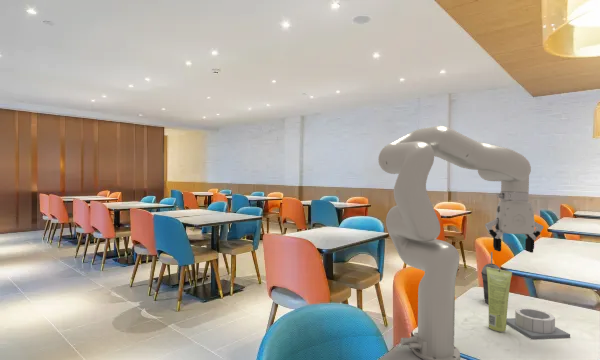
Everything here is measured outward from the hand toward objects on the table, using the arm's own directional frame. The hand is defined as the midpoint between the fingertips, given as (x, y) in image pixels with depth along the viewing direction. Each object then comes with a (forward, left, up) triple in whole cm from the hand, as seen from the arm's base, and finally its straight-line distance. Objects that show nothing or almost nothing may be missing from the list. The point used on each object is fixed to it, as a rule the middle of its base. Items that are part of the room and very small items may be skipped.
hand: (513, 251), depth 110 cm
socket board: (+9, +1, -26) cm, 27 cm away
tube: (-3, +2, -26) cm, 26 cm away
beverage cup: (+10, +24, -26) cm, 37 cm away
